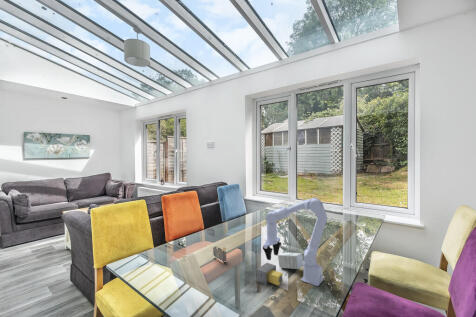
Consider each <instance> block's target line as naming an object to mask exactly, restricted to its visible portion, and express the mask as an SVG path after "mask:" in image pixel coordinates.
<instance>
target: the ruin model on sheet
mask: <svg viewBox="0 0 476 317" xmlns="http://www.w3.org/2000/svg"><path fill="white" fill-rule="evenodd" d="M226 250H227V247H226V246H225V247H223V248H221V247H219V246H218V247H217V245H216V246H213V247H212V255H214V256H215V257H217V258H219V259H220V260H222V261H223V262H224V261H226V262H227V251H226Z"/></svg>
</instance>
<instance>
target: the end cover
mask: <svg viewBox="0 0 476 317" xmlns="http://www.w3.org/2000/svg"><path fill="white" fill-rule="evenodd" d="M268 275H269V282H270V283H269V284H273V285H276V286H280V285H281V284H282V283H283V280H284V279H283V278H284V277H283V272H280V271H277V270H276V271H275V270H272V271H271V272H269V273H268Z"/></svg>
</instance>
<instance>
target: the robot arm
mask: <svg viewBox="0 0 476 317" xmlns="http://www.w3.org/2000/svg"><path fill="white" fill-rule="evenodd" d="M300 210H301V211H302V210H306V211H310V212H312V213H314V215H315V217H316V221H315V224H314V227H313V231H312V232H311V233H312V234H311V237H310V240H309V243H308V245H307V247H306V248H305V249H304V251H303V255H304V256H303V267H302V269H303V270H302V271H303V276H302V278H300V281H302V282H305V283H307V284H309V285H313V286H316V287H319V286H320V284H321V283H322V282H323V280H324V279H323V278H324V277H323V276H324V275H323V267H322V266H321V265H320V264H318V261H317V253H318V248H319V245H320V242H321V239H322V235H323V233H324V230H325V228H326V227H325V226H326V223H327V220H328V215H327V213H326V209H325V207H324V204H323V202H322V201H321V200H320V199H319V198H317V197H312V198H308V199H305V200H302V201H300V202H298V203H296V204H293V205H291V206H288V207H286V206H280V207H279V208H277V209H273V210H272V211H269V212H268V213H266V216H265V221H266V239H265V243H264V244H263V245H262V250H263V252H264V254H265V256H266V260H268V261H271V260H272V252H273V254H274V256H278V255H279V253H280V252H279V251H280V248H281V246H282V242H281V237H279V236H278V228H277V226H278V224H277V221H280V220H283V219H286V218H287V217H290V214H293V213H295V212H298V211H300ZM271 246H272V248H271Z"/></svg>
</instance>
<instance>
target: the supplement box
mask: <svg viewBox="0 0 476 317" xmlns="http://www.w3.org/2000/svg"><path fill="white" fill-rule="evenodd" d="M277 260H278V266H279V268H281V269H291V270H292V269H294V270H300V269H301V268H303V261H304V256H303V253H302V252H286V251H285V252H282V253H279V254H278V255H277Z"/></svg>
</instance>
